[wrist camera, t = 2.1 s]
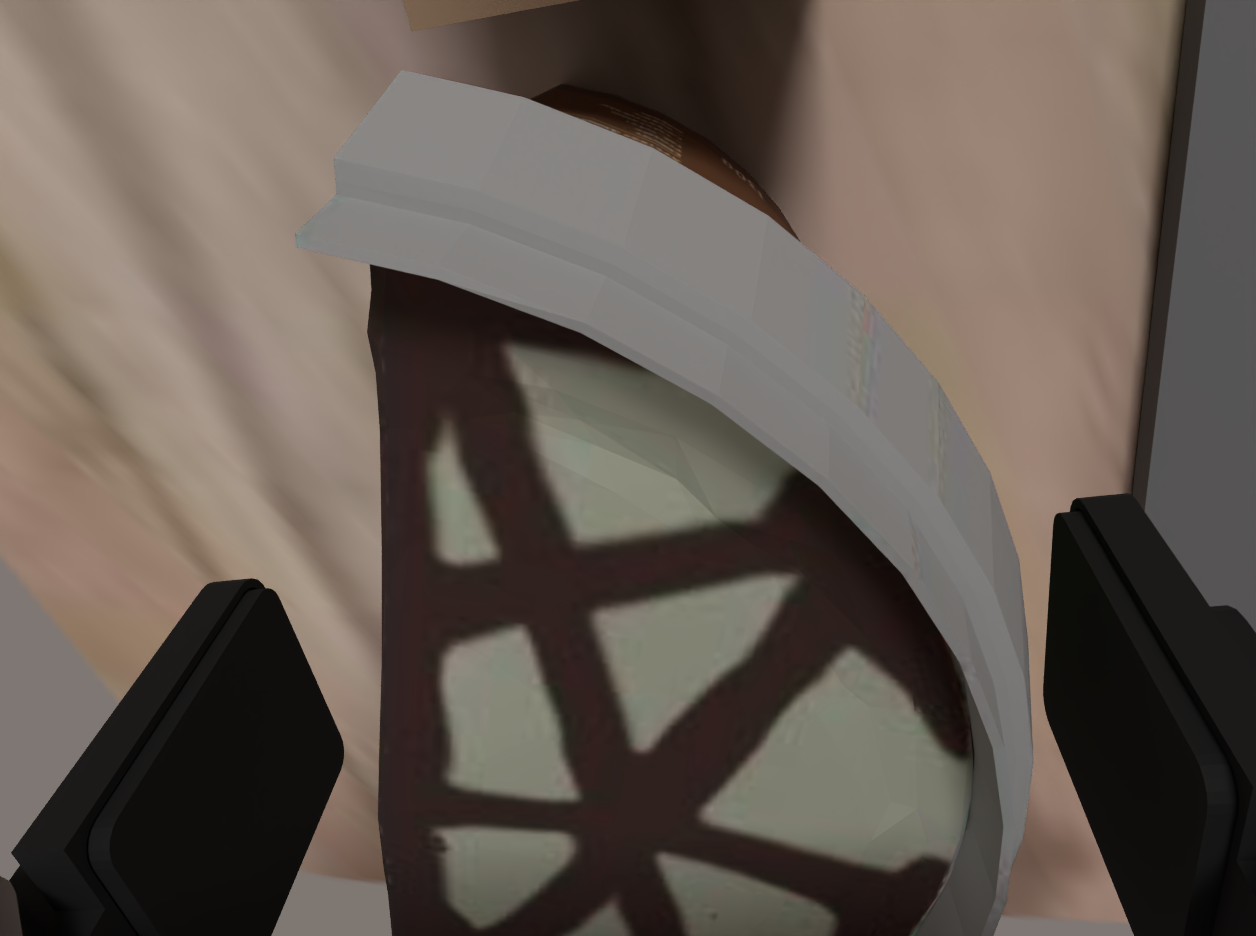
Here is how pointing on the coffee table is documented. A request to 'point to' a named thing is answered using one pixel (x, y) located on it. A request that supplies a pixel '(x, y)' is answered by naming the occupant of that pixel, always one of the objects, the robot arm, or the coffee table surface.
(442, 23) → the walnut block
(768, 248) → the food container
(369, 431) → the coffee table surface
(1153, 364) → the mat
